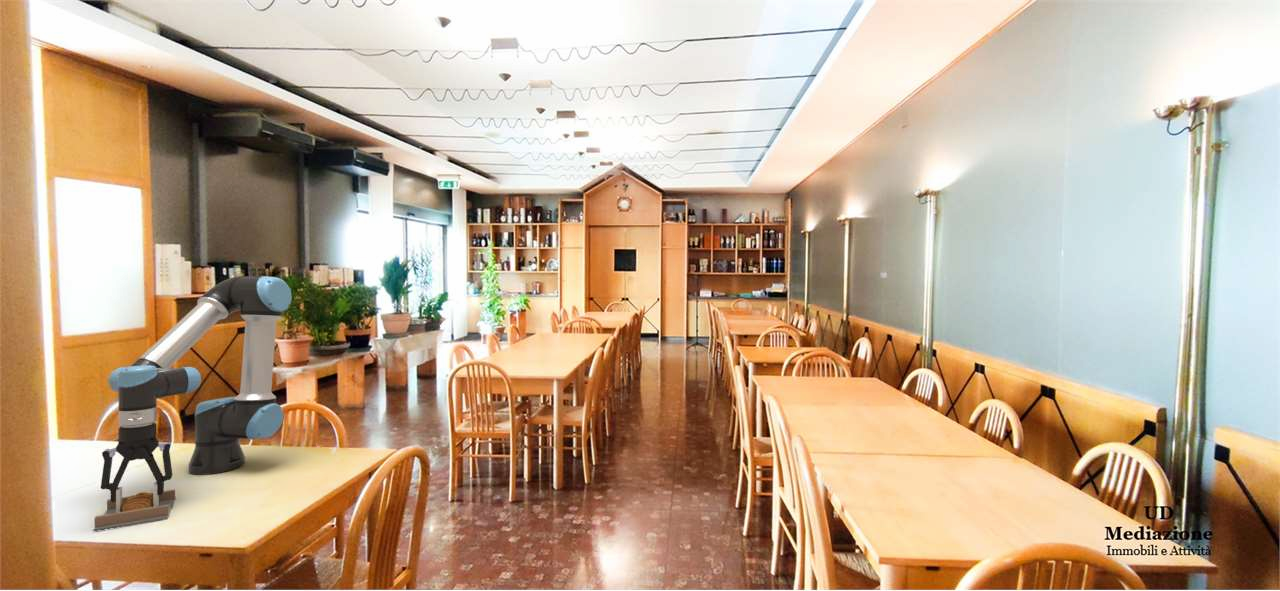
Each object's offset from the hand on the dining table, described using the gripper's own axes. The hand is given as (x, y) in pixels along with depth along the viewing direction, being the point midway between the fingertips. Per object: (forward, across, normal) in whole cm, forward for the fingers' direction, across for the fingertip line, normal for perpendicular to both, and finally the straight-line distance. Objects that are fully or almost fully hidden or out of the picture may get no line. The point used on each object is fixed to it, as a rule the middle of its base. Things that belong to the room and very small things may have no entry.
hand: (137, 509), depth 147 cm
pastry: (0, 0, 0) cm, 1 cm away
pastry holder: (+1, 0, 0) cm, 1 cm away
